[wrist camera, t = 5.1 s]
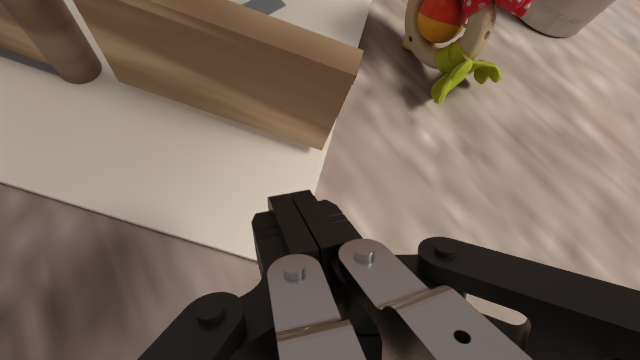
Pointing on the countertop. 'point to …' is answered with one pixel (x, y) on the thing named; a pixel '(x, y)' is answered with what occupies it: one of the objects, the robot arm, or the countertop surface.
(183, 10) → the fence panel
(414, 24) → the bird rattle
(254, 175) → the card
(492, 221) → the countertop surface
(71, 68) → the fixed fence section
